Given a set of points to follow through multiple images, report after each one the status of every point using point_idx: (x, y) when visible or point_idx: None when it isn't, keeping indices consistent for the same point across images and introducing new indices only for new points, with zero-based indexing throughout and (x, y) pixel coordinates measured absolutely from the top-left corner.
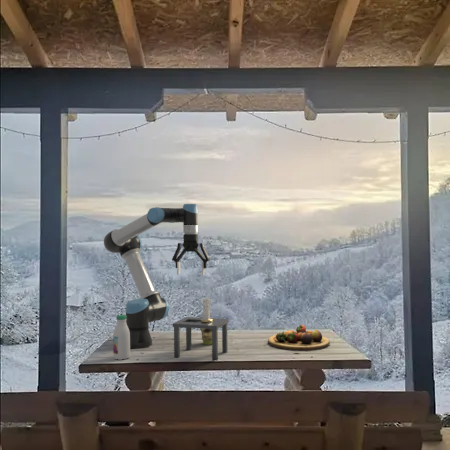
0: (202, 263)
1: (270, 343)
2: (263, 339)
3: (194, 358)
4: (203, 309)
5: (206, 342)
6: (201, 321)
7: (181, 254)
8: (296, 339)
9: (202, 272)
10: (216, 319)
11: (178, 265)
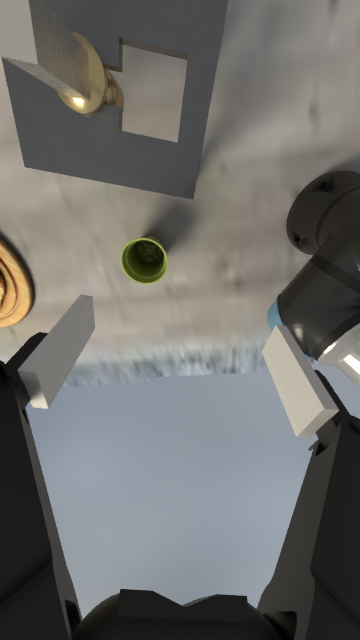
0: (31, 362)
1: (7, 246)
2: (50, 296)
3: (144, 50)
4: (61, 22)
5: (151, 236)
6: (98, 55)
7: (338, 524)
8: None
9: (76, 306)
10: (64, 149)
11: (306, 380)
